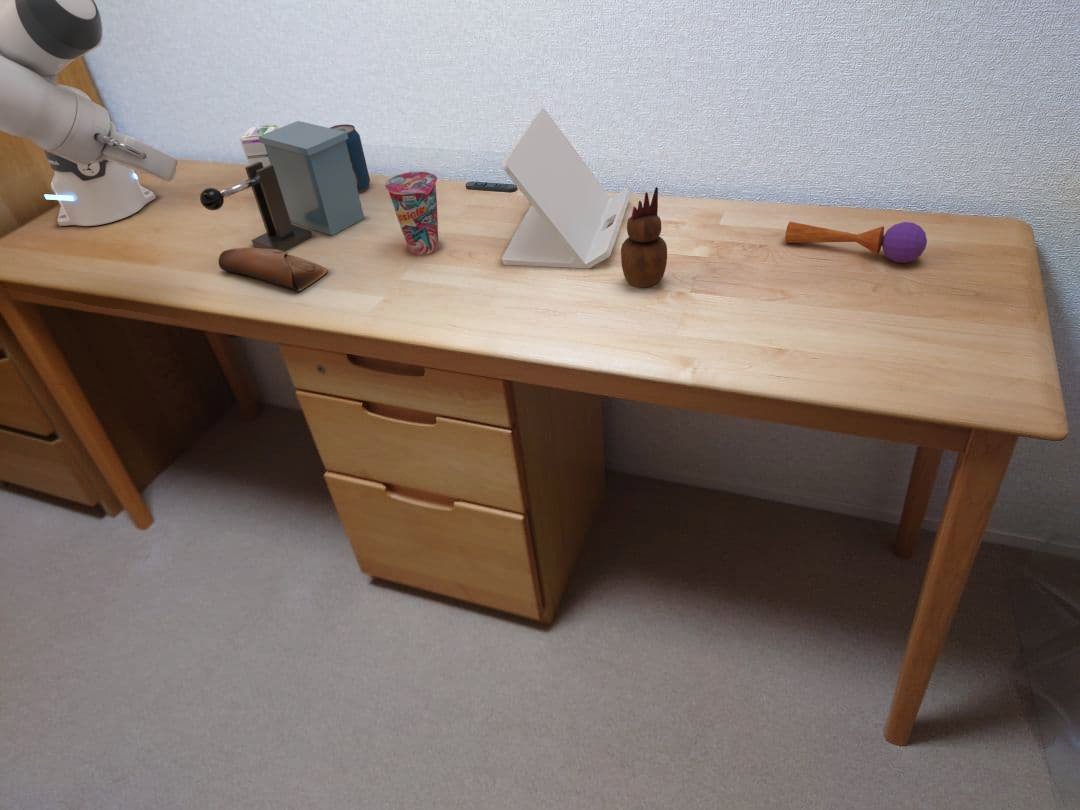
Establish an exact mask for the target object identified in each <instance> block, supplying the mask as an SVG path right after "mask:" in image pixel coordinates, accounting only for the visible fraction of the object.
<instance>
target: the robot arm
mask: <svg viewBox="0 0 1080 810" xmlns="http://www.w3.org/2000/svg"><path fill="white" fill-rule="evenodd" d="M103 38H104V26H103V22H102V17H101V14H100V10H99V8H98V6H97V4H96V2H95V0H0V131H1V132H3V133H5V134H8V135H10V136H13V137H17V138H21V139H25V140H28V141H30V142H32V143H34V144H35V145H37V147H39V148H40V149H43V150H44V151H43V153H44V155H45V159H46V160H47V162H48V163H49V165H50V168H51V169H52V170H53V171H54V175H53V177H52V178H51V182H50V188H51V190H52V191H53V194H44V198H45V199H46V200H50V201H51V200H55V201H57V202H58V204H59V206H60V207H59V211H58V215H57V220H56V221H57V224H58V225H59V226H61V227H67V226H79V227H92V226H93V227H94V226H100V225H105V224H110V223H113V222H117V221H120V220H123V219H126V218H128V217H129V216H132V215H134V214H136V213H137V212H139V211H141V210H142V209H143V208H144V207H145V206H146V205H147V204H149V203H150V202H152V201H154V200H155V199H156V198H157V195H156V194H155V192H153V191H151V190H150V189H148V188H146V187H145V186H143V185H141V183H140V181H139V178H138V175H137V174H136V172H135V171H137V172H139V173H142V174H145V175H148V176H151V177H154V178H157V179H159V180H162V181H166V182H171V181H172V180H173V179H175V177H176V174H177V167H178V164H179V160H178V159H177V158H176V157H175V156H174V155H172V154H170V153H168V152H167V151H164V150H162V149H160V148H158V147H155V146H154V145H151V144H149V143H147V142H145V141H143V140H141V139H138V138H137V137H134V136H132V135H128V134H125V133H123V132H119V131H118V130H117V126H116V123H114V121H112V120H111V117H110V113H109V111H108V109H106V108H105V107H104V106H102V105H100V104H98V103H96V102H94V101H92V99H91V98H90V97H89V95H88V94H86V92H84V91H83V90H81V89H79V88H77V87H74V86H70V85H66V84H61V83H58V81H57V74H59V73H60V72H61V71H62V70H64V68H66V67H67V66H69V64H71V63H72V62H73V61H74V60H75V59H79V58H80V57H82V56H85V55H87V54H89V53H91V52H92V51H94V50H95V49H97V48H100V46H101V45H102V43H103Z"/></svg>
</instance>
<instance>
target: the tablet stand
mask: <svg viewBox="0 0 1080 810" xmlns="http://www.w3.org/2000/svg"><path fill="white" fill-rule="evenodd" d="M516 142H517V143H516V144H515V145H514V146H513V148H512V149H511V151H510V152H509V154H508V155H507V156H506V157H505V160H504V161H503V163H502V164H501V166H502V169H503V171H504V172H505V173H506V174H507V176H508V177H509V179H510V180H511V181H512V182H513V184H515V186H516V187H517V188H518V189H519V191H520V192H521V193H522V194H523V196H524V197H525V198H526V200H527V201H528V202H529V204H530V206H529V208H528V210H527V211H526V213H525V215H524V217H523V218H522V220H521V222H520V224H519V226H518V228H517V230H516V232H515V233H514V234H513V236H512V238H511V241H510V242H509V244H508V245H507V248H506V249H505V251H504V252H503V254H502V257H501V263H502V265H504V266H526V267H547V268H548V267H549V268H550V267H552V268H571V269H572V268H573V269H590V268H592V267H594V266H596V265H598V264H599V263H601V262H603V261H604V260H606V259H608V258H609V257H610V256H611V255H612V252H613V249H614V246H615V243H616V240H617V237H618V234H619V231H620V228H621V225H622V222H623V220H624V216H625V214H626V210H627V207H628V204H629V203H630V202H629V201H630V199H631V195H632V192H633V191H632V189H631V188H630V186H627V187H625V188H624V189H622V190H621V191H619V192H618V193H616V194H615V195H613V196H610V194H609V193H608V192H607V190H606V189H605V188H604V186H603V184H601V183H600V181H599V180H598V178H597V177H596V176H595V174H594V172H592V170H591V168H589V167H588V164H586V162H585V161H584V160H583V158H582V157H581V155H580V154H579V153H578V151H577V149H575V147H574V146H573V145H572V143H571V142H570V141H569V140H568V138H567V136H566V135H565V134H564V133H563V132H562V130H561V128H560V127H559V126H558V125H557V123H556V122H555V121H554V119H553V118H552V117H551V115H550V114H549V112H548V111H547V110H546V109H545V108H541V109H539V110H538V112H537V113H536V115H535V116H534V117H533V119H532V120H531V122H530V123H529V125H528V126H527V128H526V129H525V131H524V132H523V133H522V135H521V137H520V138H519V139H518V141H516ZM609 225H610V226H609Z"/></svg>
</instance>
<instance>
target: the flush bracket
mask: <svg viewBox="0 0 1080 810" xmlns="http://www.w3.org/2000/svg"><path fill="white" fill-rule="evenodd" d="M244 169H245V172H246V175H247V178H248V180H249V179H251V178H253V177H255V174H256V172H257V175H258V178H259V182H260V183H259V184H256V185H254V186H252V187H251V190H252V193H253V195H254V199H255V202H256V205H257V209H258V210H259V215H260V217H261V220H262V223H263V226H264V229H265V233H263V234H261V235H259V236H257V237H255V238H253V239H251V243H252V245H253V247H254V248H265V249H276V250H281V251H284V252H287V250H289V249H292V248H294V247H295V246H297V245H299V244H301V243H303V242H305V241H307V240H309V239H311V238H313V233H312V230H310V229H307V228H305V227H301V226H300V225H299V226H298V225H297V224H292V222H291V221H290V218H289V215H288V212H287V209H286V205H285V202H284V199H283V196H282V192H281V189H280V186H279V183H278V180H277V176H276V173H275V170H274V167H273V165H268V166H266V167H263V164H262V162H257V163H255V164H252V165H250V166H249V165H247V166H245V167H244Z"/></svg>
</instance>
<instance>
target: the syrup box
mask: <svg viewBox="0 0 1080 810" xmlns="http://www.w3.org/2000/svg"><path fill="white" fill-rule="evenodd" d="M278 128H279V126H278V125H271V124H269V125H268V124H267V125H257V126H253V127H249V128H248V130H247V131H246V132H245V133H244V134H243V135H242V136H241V137H240V138H239V141H240V144H241V147H242V150H243V153H244V156H245V158H246V161H247V165H248V166H250V165H252V164H255V163H257V162H262V164H263V167H266V166H268V165H271V164H270V161H269V158H268V155H267V152H266V148H265V145H264V144H263V143H260V140H259V136H261V135H263V134H266V133H268V132H271V131H273V130H276V129H278Z"/></svg>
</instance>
